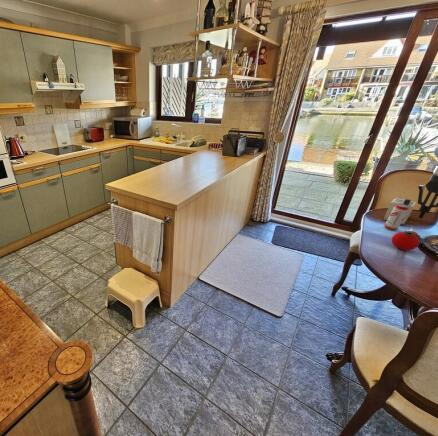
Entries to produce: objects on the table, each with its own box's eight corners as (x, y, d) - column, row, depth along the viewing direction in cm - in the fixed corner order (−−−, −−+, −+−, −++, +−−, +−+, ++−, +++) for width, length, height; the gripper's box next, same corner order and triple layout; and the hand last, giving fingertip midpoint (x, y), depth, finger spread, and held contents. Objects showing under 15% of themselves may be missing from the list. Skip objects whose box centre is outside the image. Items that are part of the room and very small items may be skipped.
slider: (409, 204, 154) (411, 199, 153) (408, 205, 153) (410, 200, 152) (403, 203, 156) (406, 198, 155) (403, 204, 155) (405, 199, 153)
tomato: (383, 243, 138) (391, 227, 133) (399, 242, 139) (408, 227, 134) (401, 254, 128) (411, 238, 124) (419, 253, 129) (429, 237, 125)
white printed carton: (407, 220, 163) (416, 202, 157) (403, 225, 156) (412, 207, 151) (387, 215, 170) (395, 197, 165) (382, 220, 164) (390, 202, 158)
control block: (422, 241, 139) (425, 235, 137) (419, 246, 135) (423, 240, 133) (398, 235, 146) (401, 229, 144) (395, 239, 142) (398, 233, 140)
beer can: (393, 227, 155) (406, 204, 147) (399, 232, 149) (412, 208, 142) (381, 225, 156) (393, 202, 149) (386, 230, 151) (399, 206, 144)
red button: (417, 235, 138) (418, 232, 138) (415, 237, 136) (417, 235, 135) (407, 232, 141) (408, 230, 141) (405, 234, 139) (407, 232, 138)
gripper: (423, 173, 126) (402, 215, 136) (462, 179, 117) (436, 223, 127) (426, 171, 130) (405, 211, 141) (463, 176, 121) (438, 219, 131)
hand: (420, 217), depth 134 cm, fingers closed
